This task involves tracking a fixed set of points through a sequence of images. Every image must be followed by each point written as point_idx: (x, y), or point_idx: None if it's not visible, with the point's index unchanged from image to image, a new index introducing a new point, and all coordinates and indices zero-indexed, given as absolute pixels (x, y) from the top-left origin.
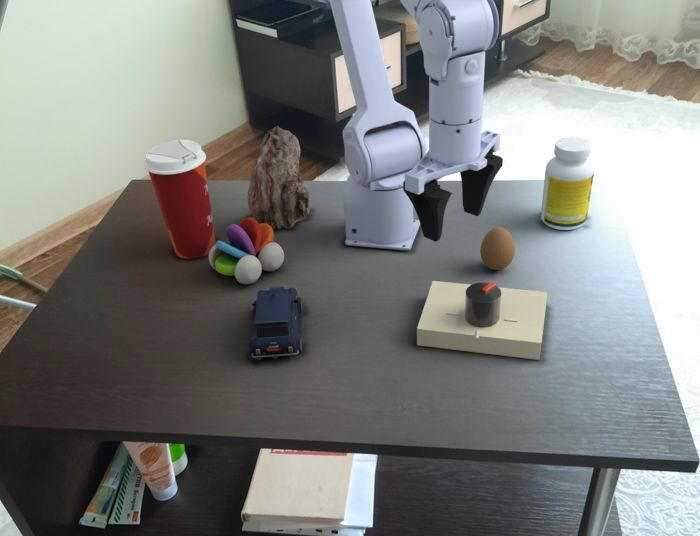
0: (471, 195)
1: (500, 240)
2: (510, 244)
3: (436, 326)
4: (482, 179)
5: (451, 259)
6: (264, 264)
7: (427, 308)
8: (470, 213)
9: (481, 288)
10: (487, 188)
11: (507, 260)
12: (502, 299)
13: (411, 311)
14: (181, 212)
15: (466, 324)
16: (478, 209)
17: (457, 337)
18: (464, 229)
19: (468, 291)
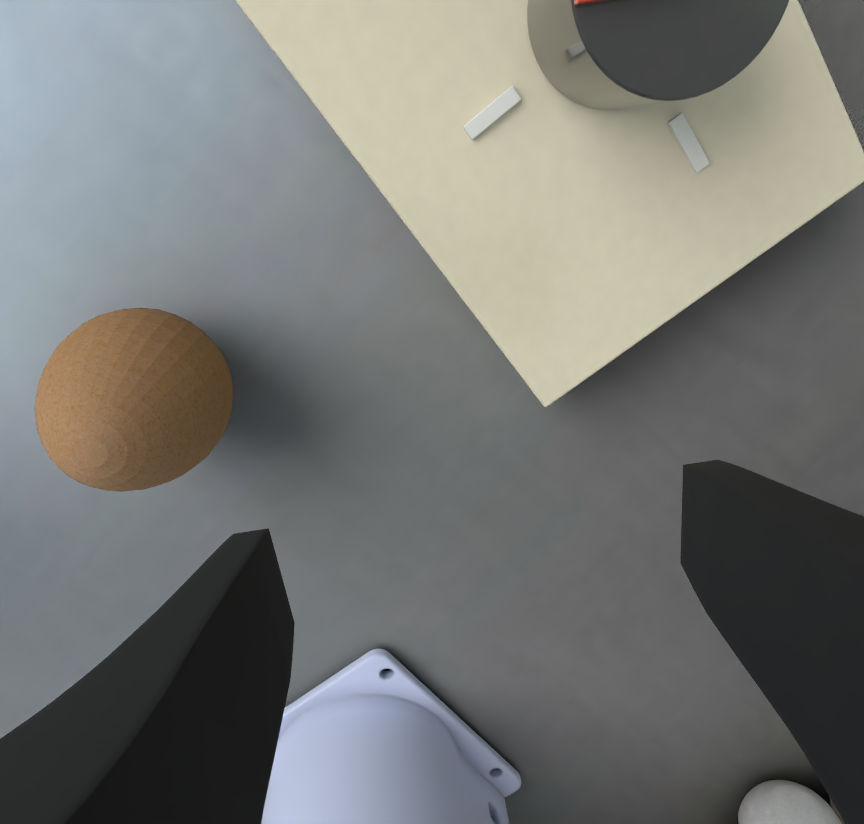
0: (250, 693)
1: (136, 387)
2: (89, 347)
3: (809, 122)
4: (154, 795)
5: (286, 520)
6: (833, 811)
7: (722, 262)
8: (282, 580)
9: (659, 16)
10: (124, 671)
11: (148, 310)
12: (420, 54)
13: (651, 358)
14: None
15: None
16: (256, 556)
17: None
18: (102, 639)
19: (736, 54)
